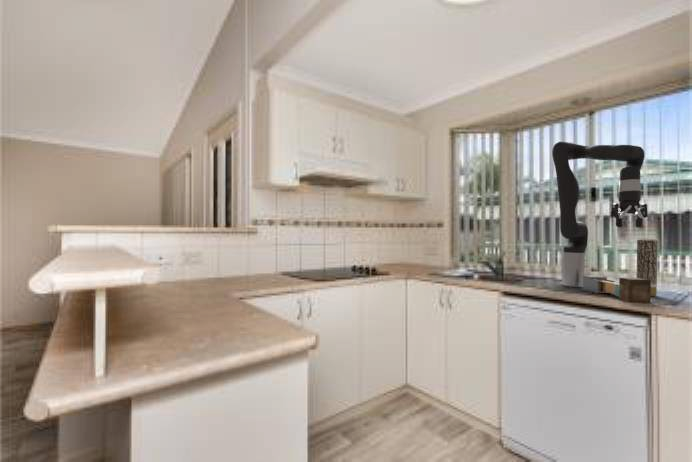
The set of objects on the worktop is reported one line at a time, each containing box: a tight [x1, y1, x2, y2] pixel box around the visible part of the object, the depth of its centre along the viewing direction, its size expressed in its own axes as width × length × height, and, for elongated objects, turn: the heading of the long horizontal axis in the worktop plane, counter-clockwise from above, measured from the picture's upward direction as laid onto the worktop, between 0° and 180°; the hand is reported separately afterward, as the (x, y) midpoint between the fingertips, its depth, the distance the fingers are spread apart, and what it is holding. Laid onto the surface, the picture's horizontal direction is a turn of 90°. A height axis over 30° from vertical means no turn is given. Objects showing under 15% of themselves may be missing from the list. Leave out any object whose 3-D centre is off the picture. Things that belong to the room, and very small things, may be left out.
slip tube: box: [601, 281, 619, 296], centre depth 144 cm, size 19×4×4 cm, turn 0°
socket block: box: [618, 277, 652, 303], centre depth 136 cm, size 5×8×9 cm, turn 90°
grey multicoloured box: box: [581, 274, 616, 294], centre depth 156 cm, size 10×8×7 cm
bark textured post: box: [635, 238, 659, 297], centre depth 150 cm, size 7×7×25 cm
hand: (628, 227), depth 149 cm, fingers open, 8 cm apart
